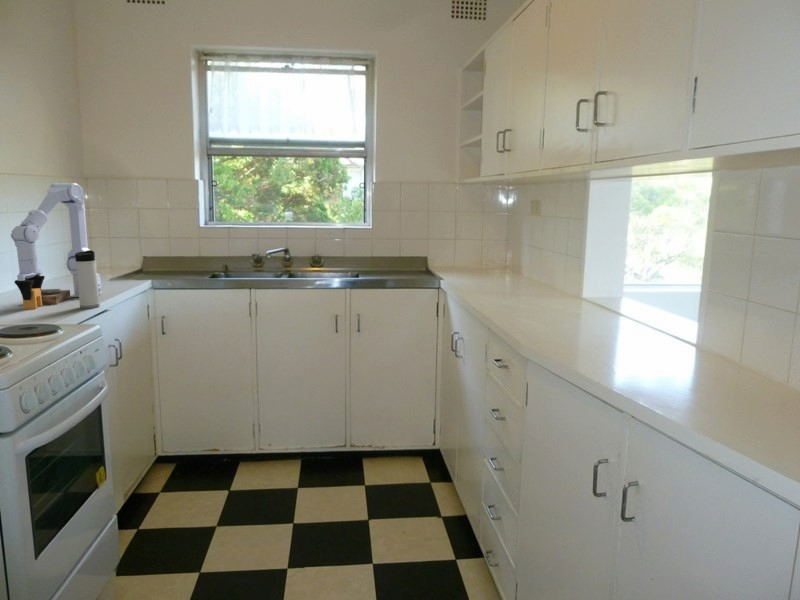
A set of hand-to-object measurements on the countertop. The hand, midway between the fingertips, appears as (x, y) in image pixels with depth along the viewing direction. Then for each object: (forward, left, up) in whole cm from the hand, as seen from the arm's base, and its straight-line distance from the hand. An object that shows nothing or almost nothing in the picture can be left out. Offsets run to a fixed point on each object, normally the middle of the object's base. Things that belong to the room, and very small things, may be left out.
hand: (32, 298), depth 217 cm
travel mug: (-20, +3, -4) cm, 21 cm away
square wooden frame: (-1, -12, -3) cm, 12 cm away
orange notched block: (0, 0, -3) cm, 3 cm away
